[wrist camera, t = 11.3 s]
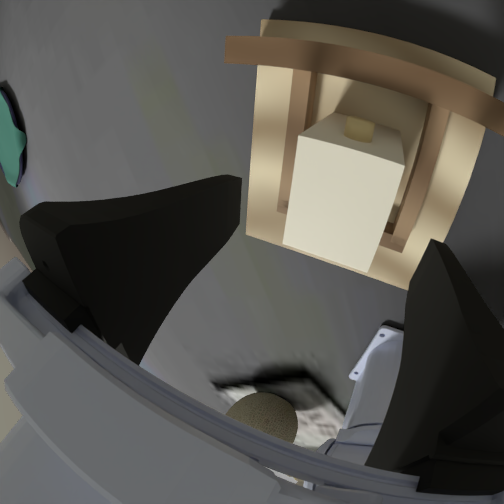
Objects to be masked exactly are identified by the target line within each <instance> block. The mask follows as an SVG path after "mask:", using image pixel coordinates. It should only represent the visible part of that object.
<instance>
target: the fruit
mask: <svg viewBox="0 0 504 504" xmlns="http://www.w3.org/2000/svg"><path fill="white" fill-rule="evenodd" d="M226 416H229V417H231V418H233V419H235V420H237V421H239V422H241V423H244V424H246V425H248V426H250V427H253V428H255V429H257V430H260V431H262V432H264V433H267V434H269V435H272V436H274V437H277V438H279V439H282V440H284V441H287V442H290V443H292V444H293V442H294V440H295V437H296V433H297V429H298V420H297V415H296V412H295V410H294V408H293V407H292V405H291V404H290V403H289V402H287V401H286V400H284V399H283V398H280V397H279V396H277V395H275V394H272V393H266V392H258V393H253V394H250V395H247V396H245V397H243V398H242V399H240V400H239V401H237V402H236V403H235V404H234V405H233V406H232V407H231V408H230V409H229V410H228V412H227V413H226Z"/></svg>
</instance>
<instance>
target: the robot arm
mask: <svg viewBox="0 0 504 504" xmlns="http://www.w3.org/2000/svg"><path fill="white" fill-rule="evenodd" d="M241 185H242V178H240V177H236V176H232V175H220V176H214V177H210V178H206V179H202V180H198V181H194V182H190V183H186V184H183V185H179V186H175V187H171V188H167V189H163V190H159V191H154V192H150V193H145V194H140V195H134V196H128V197H121V198H113V199H105V200H95V201H79V202H42V203H39V204H37V205H36V206H34V207H33V208H31V209H30V210H28V211H27V212H25V213H24V214H23V215H21V217H20V222H19V223H20V230H21V234H22V237H23V239H24V242H25V244H26V247H27V249H28V251H29V254H30V256H31V258H32V261H33V263H34V265H35V267H36V269H35V270H34V271H33V272H32V273H31V272H30V271H29V269H28V268H27V267H26V266H25V265H24V264H23V263H22V262H21V261H20V260H19V259H18V258H17V257H14V258H13V259H11V260H10V261H9V262H8V263H7V264H5V265H4V266H3V267H2V268H1V269H0V347H1V348H2V350H3V352H4V353H5V355H6V357H7V358H8V360H9V362H10V363H11V365H12V366H13V368H14V370H13V371H12V372H11V373H10V374H9V375H8V376H7V377H6V378H5V380H4V382H5V390H6V392H7V393H8V395H9V396H10V398H11V399H12V401H13V403H14V405H15V406H16V407H17V409H18V410H19V411H20V412H21V414H22V415H23V416H22V417H21V419H20V420H19V421H18V422H17V423H16V424H15V426H14V427H13V428H12V429H11V431H10V432H9V433H8V434H7V435H6V437H5V438H4V439H3V441H2V442H1V443H0V504H504V329H503V328H502V326H501V325H500V324H499V322H498V321H497V319H496V318H495V317H494V315H493V314H492V312H491V311H490V310H489V308H488V307H487V305H486V304H485V302H484V301H483V299H482V298H481V296H480V294H479V293H478V291H477V290H476V288H475V287H474V285H473V284H472V282H471V280H470V279H469V277H468V276H467V274H466V272H465V271H464V269H463V268H462V266H461V265H460V263H459V261H458V260H457V258H456V257H455V255H454V254H453V253H452V251H451V250H450V248H449V247H448V246H447V245H446V244H445V243H442V242H440V241H437V240H435V239H432V238H431V239H430V241H429V243H428V246H427V248H426V250H425V252H424V254H423V256H422V258H421V260H420V262H419V264H418V266H417V268H416V270H415V272H414V274H413V276H412V278H411V280H410V282H409V288H408V294H407V300H406V306H405V321H404V331H401V330H398V329H395V328H392V327H389V326H386V325H383V326H381V327H380V328H379V330H378V331H377V333H376V335H375V336H374V338H373V339H372V341H371V343H370V344H369V346H368V347H367V349H366V350H365V352H364V353H363V355H362V356H361V358H360V359H359V361H358V362H357V364H356V365H355V367H354V368H353V370H352V371H351V372H350V374H349V378H350V379H353V380H356V384H355V387H354V391H353V394H352V397H351V400H350V403H349V407H348V410H347V413H346V416H345V419H344V422H343V427H342V429H340V430H339V433H338V435H337V438H336V439H334V438H332V439H329V440H327V441H326V442H325V443H324V444H322V445H321V446H320V447H319V448H318V449H317V450H316V452H315V451H312V450H309V449H306V448H303V447H301V446H298V445H295V444H292V443H290V442H287V441H284V440H282V439H279V438H277V437H274V436H272V435H269V434H267V433H264V432H262V431H260V430H257V429H255V428H253V427H250V426H248V425H246V424H244V423H241V422H239V421H237V420H235V419H233V418H231V417H229V416H226V415H224V414H222V413H220V412H218V411H216V410H214V409H212V408H210V407H208V406H206V405H205V404H203V403H201V402H199V401H197V400H195V399H193V398H191V397H190V396H188V395H186V394H184V393H182V392H181V391H179V390H177V389H175V388H174V387H172V386H170V385H169V384H167V383H165V382H164V381H162V380H160V379H159V378H157V377H155V376H154V375H152V374H151V373H149V372H147V371H146V370H144V369H143V368H141V367H140V366H139V364H140V362H141V360H142V358H143V356H144V354H145V352H146V351H147V349H148V347H149V345H150V343H151V341H152V340H153V338H154V336H155V334H156V333H157V331H158V329H159V328H160V326H161V324H162V323H163V321H164V319H165V318H166V316H167V315H168V313H169V312H170V310H171V309H172V307H173V306H174V304H175V303H176V301H177V300H178V298H179V297H180V296H181V294H182V293H183V291H184V290H185V289H186V287H187V286H188V285H189V283H190V282H191V281H192V280H193V279H194V278H195V276H196V275H197V274H198V273H199V272H200V271H201V270H202V269H203V268H204V267H205V266H206V265H207V263H208V262H209V261H210V260H211V259H212V258H213V257H214V256H215V255H216V254H217V253H218V252H219V250H220V249H221V248H222V247H223V246H224V245H225V244H226V243H227V241H228V240H229V239H230V237H231V236H232V234H233V233H234V231H235V230H236V228H237V227H238V225H239V224H240V204H241ZM264 466H265V467H264ZM266 467H267V468H270V469H273V470H275V471H278V472H281V473H283V474H286V475H289V476H292V477H295V478H298V479H301V480H304V484H303V487H302V486H299V485H297V484H294V483H292V482H289V481H287V480H284V479H282V478H280V477H277V476H275V474H274V472H272V471H271V470H269V469H267V468H266Z"/></svg>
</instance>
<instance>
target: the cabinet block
mask: <svg viewBox="0 0 504 504" xmlns="http://www.w3.org/2000/svg"><path fill="white" fill-rule="evenodd" d="M404 167H405V163H404V154H403V147H402V140H401V133H400V131H399V130H396V129H393V128H390V127H386V126H383V125H380V124H377V123H374V122H372V121H370V120H367V119H364V118H361V117H356V116H348V115H344V114H340V113H335V112H333V113H331V114H330V115H328V116H327V117H325V118H324V119H322V120H321V121H319V122H318V123H316V124H314V125H313V126H311V127H310V128H308V129H307V130H305V131H304V132H302V133H301V134H300V135H298V142H297V149H296V156H295V163H294V170H293V177H292V184H291V191H290V198H289V205H288V211H287V218H286V224H285V231H284V237H283V243H282V244H284V245H287V246H290V247H293V248H296V249H299V250H302V251H305V252H308V253H311V254H314V255H317V256H320V257H323V258H325V259H328V260H331V261H334V262H337V263H340V264H343V265H346V266H349V267H351V268H354V269H357V270H360V271H363V272H366V273H367V272H368V270H369V268H370V265H371V263H372V260H373V258H374V255H375V253H376V250H377V247H378V245H379V242H380V240H381V237H382V234H383V231H384V229H385V226H386V223H387V220H388V217H389V215H390V212H391V209H392V206H393V203H394V200H395V197H396V194H397V190H398V187H399V184H400V181H401V177H402V174H403V171H404Z"/></svg>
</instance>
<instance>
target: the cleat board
mask: <svg viewBox="0 0 504 504" xmlns="http://www.w3.org/2000/svg"><path fill="white" fill-rule="evenodd" d="M224 63H233V64H250V65H258V69H257V82H256V96H255V109H254V123H253V137H252V151H251V165H250V179H249V194H248V209H247V224H246V234H247V235H250V236H253V237H256V238H258V239H261V240H264V241H267V242H270V243H273V244H276V245H279V246H282V247H285V248H288V249H291V250H294V251H297V252H300V253H303V254H306V255H309V256H311V257H314V258H317V259H320V260H323V261H326V262H329V263H332V264H335V265H338V266H340V267H343V268H346V269H349V270H352V271H355V272H358V273H360V274H363V275H366V276H369V277H372V278H375V279H377V280H380V281H383V282H386V283H389V284H391V285H394V286H397V287H400V288H403V289H405V290H408V288H409V282H410V280H411V278H412V276H413V274H414V272H415V270H416V268H417V266H418V264H419V262H420V260H421V258H422V256H423V254H424V252H425V250H426V248H427V246H428V243H429V241H430V239H431V238H432V239H435V240H437V241H440V242H442V243H443V242H444V239H445V237H446V235H447V233H448V231H449V229H450V226H451V224H452V222H453V220H454V217H455V215H456V213H457V210H458V208H459V205H460V203H461V200H462V198H463V195H464V193H465V190H466V187H467V185H468V182H469V179H470V177H471V174H472V171H473V168H474V165H475V162H476V159H477V156H478V152H479V149H480V146H481V142H482V139H483V135H484V132H485V128H488V129H490V130H492V131H494V132H496V133H498V134H500V135H502V136H503V137H504V103H503V102H502V101H500V100H498V99H496V98H494V97H493V93H494V88H495V82H496V78H495V77H493V76H491V75H489V74H487V73H485V72H483V71H481V70H479V69H477V68H474V67H472V66H470V65H468V64H466V63H463V62H461V61H459V60H456V59H454V58H451V57H449V56H446V55H444V54H441V53H438V52H436V51H433V50H430V49H427V48H424V47H421V46H418V45H415V44H412V43H409V42H405V41H402V40H399V39H395V38H391V37H387V36H384V35H379V34H375V33H371V32H366V31H362V30H357V29H351V28H346V27H340V26H333V25H326V24H319V23H310V22H300V21H287V20H265V19H261V31H260V36H226V43H225V60H224ZM333 112H335V113H340V114H344V115H348V116H356V117H361V118H364V119H367V120H370V121H372V122H374V123H377V124H380V125H383V126H386V127H390V128H393V129H396V130H399V131H400V133H401V140H402V147H403V154H404V163H405V167H404V171H403V174H402V177H401V181H400V184H399V187H398V190H397V194H396V197H395V200H394V203H393V206H392V209H391V212H390V215H389V217H388V220H387V223H386V226H385V229H384V231H383V234H382V237H381V240H380V242H379V245H378V247H377V250H376V253H375V255H374V258H373V260H372V263H371V265H370V268H369V270H368V272H367V273H366V272H363V271H360V270H357V269H354V268H351V267H349V266H346V265H343V264H340V263H337V262H334V261H331V260H328V259H325V258H323V257H320V256H317V255H314V254H311V253H308V252H305V251H302V250H299V249H296V248H293V247H290V246H287V245H284V244H282V243H283V237H284V231H285V224H286V218H287V211H288V205H289V198H290V191H291V184H292V177H293V170H294V163H295V156H296V149H297V142H298V135H300V134H301V133H302V132H304V131H305V130H307V129H308V128H310V127H311V126H313V125H314V124H316V123H318V122H319V121H321V120H322V119H324V118H325V117H327V116H328V115H330V114H331V113H333Z"/></svg>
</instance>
